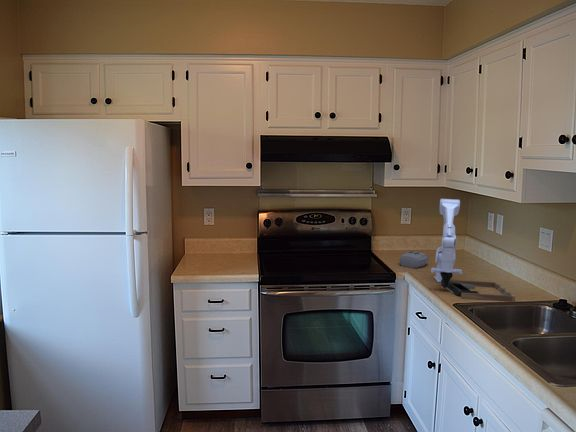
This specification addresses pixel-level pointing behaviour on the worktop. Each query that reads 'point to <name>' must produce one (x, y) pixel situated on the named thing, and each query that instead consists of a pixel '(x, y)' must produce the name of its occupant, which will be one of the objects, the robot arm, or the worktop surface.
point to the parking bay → (505, 297)
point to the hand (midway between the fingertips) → (445, 287)
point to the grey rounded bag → (413, 259)
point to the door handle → (456, 288)
